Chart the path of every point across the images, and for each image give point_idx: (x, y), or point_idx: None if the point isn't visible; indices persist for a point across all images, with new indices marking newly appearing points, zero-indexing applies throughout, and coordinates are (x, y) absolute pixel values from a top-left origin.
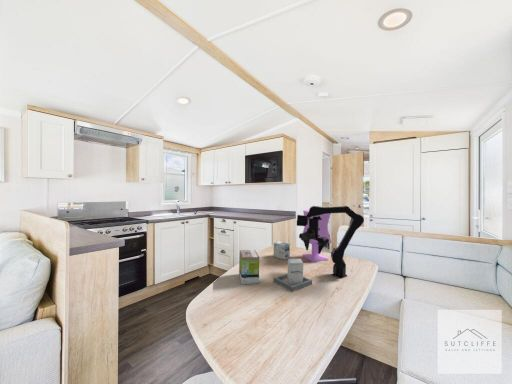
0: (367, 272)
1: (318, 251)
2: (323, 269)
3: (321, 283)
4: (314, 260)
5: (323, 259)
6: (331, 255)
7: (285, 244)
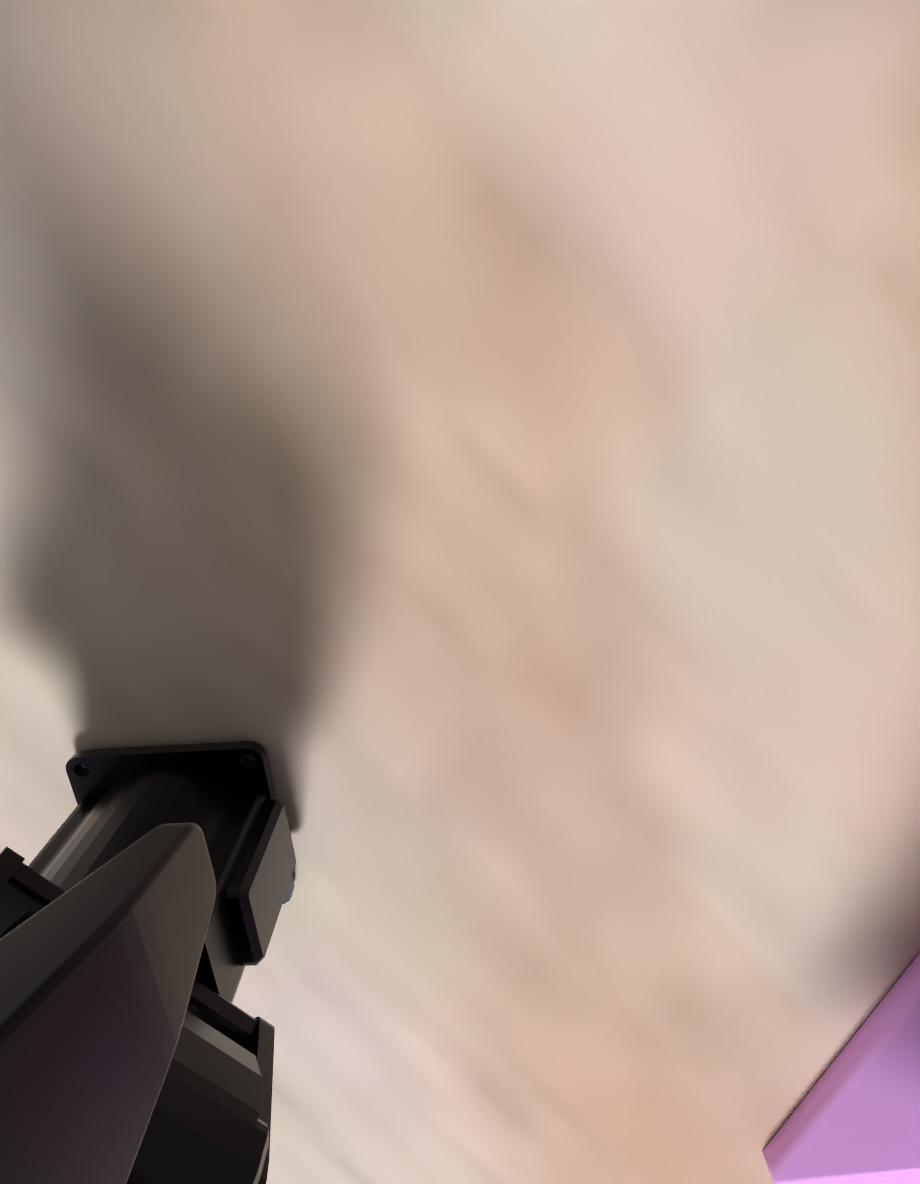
0: None
1: (102, 904)
2: (533, 817)
3: (3, 230)
4: (914, 990)
5: (818, 1117)
6: (159, 1147)
7: None
